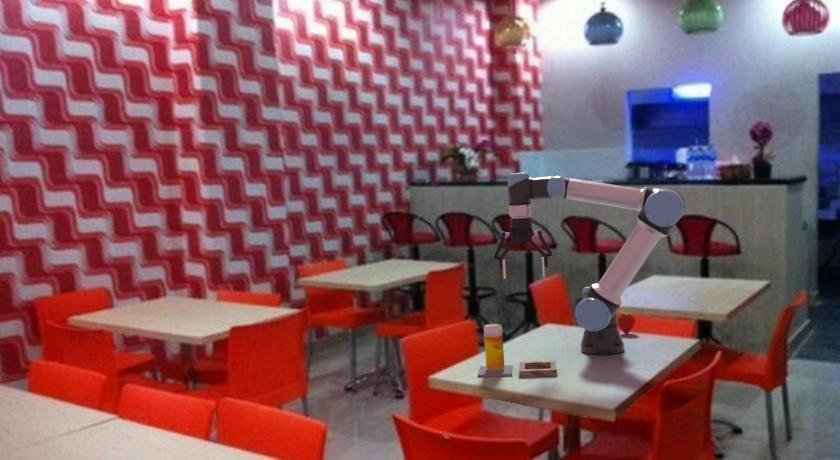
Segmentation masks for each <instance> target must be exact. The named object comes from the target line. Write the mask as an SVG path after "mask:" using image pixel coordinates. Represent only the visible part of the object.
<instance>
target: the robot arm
mask: <svg viewBox="0 0 840 460" xmlns="http://www.w3.org/2000/svg"><path fill="white" fill-rule="evenodd" d="M507 193H508V210H509V211H508V212H509V217H511V218H510V219H509V224H510V225H509V226H510V229H509V231H510V232H508V231H507V232H506V231H502V233H501V239H500V242H499V244H498V246H497V249H496V251H495V253H494V256H493V258H494V260H495V259H496V260H497V261H499V269H500V270H502V272H503V273H502V274H503V280H506V279H507V271H506V260H505V259H504V258H505V256H507V254H508V253H509V251H511V249H512V247H513V246H514V245H515V244H517V245H520V244H523V245H524V244H525V245H527V244H528V243H529V244H530V245H531V246H532V247H533V248H534V249H535V250H536V251H537V252H539V254H540V255H541V256H542V257H541V266H542V267H541V268H542V277H543V278H545V277H546V270H545V268H547V267H548V264H549V263H548V258H549V257H552V256H553V252H552V250H551V249H550V247H549V245H548V243H547V242H546V240H545V238H544V236H543V234H542V233H543V232H542V230H541V229H537V230H533V219H532V217H531V216H532V205H531V200H547V199H553V200H555V199H567V200H571V201H577V202H582V203H583V202H584V203H589V204H596V205H602V206H608V207H612V208H614V207H615V208H619V209H626V210H631V211H637V212H638V214H637V216H636V221H637V224H636V225H635V226H634V229H632V231H631V233H630V234H629V236H628V237H627V239H626V241H625V242H624V244H623V245H622V246H621V248H620V249H619V251H618V253H617V254H616V255H615V257H614V259H613V260H612V261H611V263H610V265H609V266H608V268H607V269H606V271H605V272H604V274H603V275H602V277H601V278H600V280H599V281H598V282H597V283H596V282H595V283H592V284H591V285H590V286H585V287H583V289H582V298H581V300H580V301H579V302H578V303H577V305H576V307H575V318H576V321H577V323H578V325H579V326H580V327H581V328H583V329H584V331H583V333H582V334H583V335H582V338H581V342H580V351H581V352H582V353H584V354H588V355H599V356H600V355H601V356H603V355H615V354H618V353H622V352H624V351H625V343H624V341H623V338H622V335H621V332H620V330H619V326H618V319H617V316H618V309H619V308H620V307H621V305H622V304H623V303H622V299H621V297H622V296H623V294H624V292H625V291H626V290H627V288H628V286H629V285H630V284H631V282H632V280H633V279H634V278H635V277H636V274H637V273H638V272H639V271H640V268H642V266H643V264H644V263H645V262H646V260H647V258H649V255H650V254H651V253H652V251H653V250H654V248H655V247H656V246H657V244H658V242H659V241H660V240H661V238H665V237H668V236H669V235H670V233H671V231H672V230H673V228H674V227H675V226H676V225H677V222H679V221H680V219H681V218H682V216H683V215H684V212H685V207H686V203H685V198H684V197H683V195H682V194H681V193H680V192H679V191H678V190H676V189H674V188H670V187H664V188H663V187H661V188H660V187H649V186H644V188H635V187H630V186H622V185H619V184H618V185H617V184H610V183H604V182H597V181H592V180H585V179H578V178H570V177H565V176H561V175H556V174H555V175H549V176H540V177H530V175H529V172H516V173H515V172H514V173H513V172H512V173H509V174H508V176H507ZM534 235H535V236H536V237H538V238H539V240H540V242H541V244H542V246H543V247H544V249H545V250H546V252H545V251H544V250H543V249H542V248H541V247H540V245H538V244H537V243H536V241H534V240H533V239H532V238H533V237H534ZM508 237H510V238H511V239H512V240H511V241H510V243H509V244H508V245H507V246H506V248H505V249H504V251H503V252H502V253H501V255H499V254H500V252H501V249H502V247H503V245H504V243H505V240H506V239H508Z"/></svg>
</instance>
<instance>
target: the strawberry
mask: <svg viewBox="0 0 840 460" xmlns="http://www.w3.org/2000/svg"><path fill="white" fill-rule="evenodd" d="M625 310H626V312H619V313H618V314H620V315H617V319H618V328H619V329H620V330H621V331H622V332H623V333H624V334H625V335H627V334H629V333H630V331H631V330H632V329H633V328H634V326H635V324H636V317H635V316H634V315H633V314H632V313H631V312H630V311H628V310H627V308H626V309H625ZM627 311H628V312H627Z"/></svg>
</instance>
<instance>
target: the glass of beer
mask: <svg viewBox="0 0 840 460" xmlns="http://www.w3.org/2000/svg"><path fill="white" fill-rule="evenodd" d="M483 339H484V354H485V366H486V368H487V369H488V371H491V372H498V371H502V370H503V369H504V367H505V366H504V365H505V353H504V352H505V351H504V337H503V327H502V325H501V324H499V323H489V324H485V325H484V327H483Z"/></svg>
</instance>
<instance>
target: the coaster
mask: <svg viewBox="0 0 840 460" xmlns="http://www.w3.org/2000/svg"><path fill="white" fill-rule="evenodd" d="M504 366H505V367H504V369H503V370H502V371H498V372H491V371H488V369H487V368H486V365H481V366H479V368H478V369H479V370H478V372H477V377H478V378H480V377H479V376H482V377H481V378H491V377H492V376H494V377H492V378H495V376H497V377H498V376H500V377H512V376H513V365H512V364H509V365H508V364H507V365H506V364H504ZM486 376H487V377H486Z"/></svg>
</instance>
